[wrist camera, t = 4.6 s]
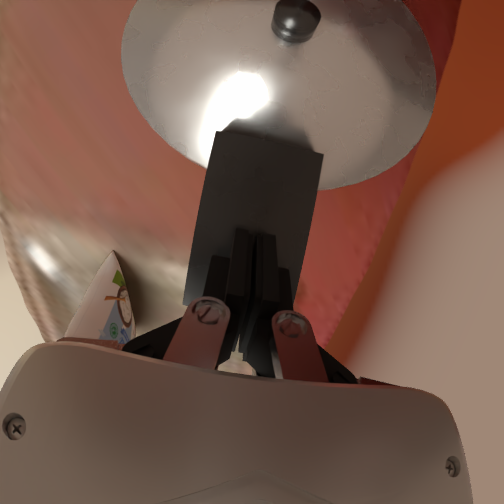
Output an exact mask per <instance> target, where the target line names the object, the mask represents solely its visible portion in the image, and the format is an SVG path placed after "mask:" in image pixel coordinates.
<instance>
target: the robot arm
mask: <svg viewBox="0 0 504 504" xmlns="http://www.w3.org/2000/svg"><path fill="white" fill-rule="evenodd" d="M252 249H253V252H252ZM239 334H240V336H239ZM238 338H239V349H238V352H240V353H243V361H246V362H248V363H249V364H250V365H251V366H252V367H253V369H252V375H244V374H237V373H231V372H224V371H218V366H219V365H220V364H221V363H223V362H225V361H226V360H228V359H230V355H231V351H233V352H234V351H235V348H236V345H237V341H238ZM0 504H473V498H472V490H471V484H470V478H469V473H468V468H467V463H466V458H465V453H464V449H463V446H462V442H461V439H460V435H459V432H458V429H457V426H456V423H455V421H454V418H453V416H452V413H451V411H450V409H449V408H448V406H447V405H446V403H445V402H444V401H443V400H442V399H440V398H439V397H437V396H435V395H434V394H431V393H429V392H426V391H423V390H420V389H415V388H411V387H402V386H397V385H393V384H389V383H384V382H380V381H376V380H372V379H368V378H364V377H360V378H359V379H357V378H355V376H354V375H353V374H352V373H351V372H350V371H349V370H348V369H347V368H345V367H344V366H343V365H342V364H340V363H339V362H338V361H337V360H336V359H335V358H334V357H332V356H331V355H330V354H329V353H328V352H326V351H325V350H324V349H323V348H322V347H320V346H319V345H318V344H317V342H316V339H315V336H314V333H313V330H312V327H311V324H310V322H309V321H308V320H307V318H306V317H305V316H303V315H302V314H300V313H298V312H295V311H293V300H292V291H291V281H290V272H289V269H287V268H282V267H278V261H277V245H276V235H272V234H267V233H262V235H261V236H260V235H257V236H256V240H255V244H254V248H253V234H249V230H247V229H242V228H236V229H235V234H234V238H233V243H232V248H231V253H230V258H228V257H223V256H218V255H212V257H211V261H210V265H209V269H208V274H207V278H206V282H205V287H204V291H203V296H202V297H199V298H196V299H194V300H193V301H191V303H190V304H189V305H188V307H187V309H186V312H185V314H184V316H183V317H181V318H179V319H177V320H174V321H172V322H170V323H168V324H166V325H163V326H161V327H159V328H157V329H154V330H152V331H150V332H147V333H145V334H143V335H141V336H138V337H136V338H134V339H132V340H130V341H128V342H127V343H126V344H120V343H118V340H102V339H89V338H77V337H63V338H61V339H59V340H57V341H56V342H47V343H42V344H38V345H36V346H33V347H32V348H30V349H29V350H27V351H26V352H25V353H24V355H22V356H21V358H20V359H19V360H18V362H17V363H16V364H15V366H14V367H13V369H12V371H11V372H10V374H9V376H8V377H7V379H6V382H5V383H4V385H3V388H2V389H1V391H0Z"/></svg>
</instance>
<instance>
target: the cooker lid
mask: <svg viewBox="0 0 504 504" xmlns="http://www.w3.org/2000/svg"><path fill="white" fill-rule="evenodd" d="M121 61H122V68H123V75H124V78H125V81H126V84H127V87H128V90H129V93H130V95H131V97H132V99H133V101H134V103H135V104H136V106H137V108H138V110H139V111H140V113H141V114H142V115H143V117H144V118H145V119H146V120H147V122H148V123H149V124H150V126H151V127H152V128H153V129H154V130H155V131H156V132H157V133H158V134H159V135H160V136H161V137H162V138H163V139H164V140H165V141H166V142H167V143H168V144H169V145H170V146H171V147H172V148H174V149H175V150H176V151H178V152H179V153H181V154H182V155H183V156H185V157H186V158H187V159H189V160H190V161H192V162H194V163H196V164H197V165H199V166H201V167H203V168H205V169H206V170H207V171H206V176H205V181H204V186H203V190H202V195H201V200H200V205H199V211H198V216H197V221H196V226H195V232H194V237H193V243H192V249H191V254H190V260H189V266H188V272H187V278H186V285H185V291H184V298H183V305H186V306H188V305H189V304H190V303H191V301H193V300H194V299H196V298H199V297H202V296H203V291H204V287H205V282H206V278H207V274H208V269H209V265H210V261H211V257H212V255H218V256H223V257H228V258H230V253H231V248H232V243H233V238H234V234H235V229H236V228H242V229H247V230H249V234H253V248H254V244H255V240H256V236H257V235H260V236H261V235H262V233H267V234H272V235H276V245H277V261H278V267H282V268H287V269H289V272H290V281H291V291H292V300H293V303H294V299H295V295H296V291H297V286H298V282H299V278H300V273H301V269H302V264H303V260H304V255H305V250H306V246H307V241H308V236H309V231H310V226H311V221H312V216H313V211H314V206H315V201H316V196H317V191H321V190H330V189H334V188H338V187H343V186H347V185H351V184H356V183H359V182H361V181H364V180H367V179H369V178H372V177H374V176H377V175H378V174H380V173H382V172H384V171H385V170H387V169H389V168H391V167H392V166H394V165H395V164H396V163H397V162H399V161H400V160H401V159H402V158H404V157H405V156H406V155H407V154H408V153H409V152H410V151H411V150H412V148H413V147H414V146H415V145H416V144H417V143H418V141H419V140H420V138H421V136H422V135H423V133H424V131H425V130H426V128H427V126H428V123H429V120H430V118H431V115H432V112H433V108H434V103H435V97H436V75H435V66H434V62H433V58H432V54H431V50H430V48H429V45H428V42H427V40H426V37H425V35H424V33H423V31H422V29H421V28H420V26H419V24H418V22H417V21H416V19H415V18H414V16H413V15H412V13H411V12H410V10H409V9H408V8H407V7H406V5H405V4H404V3H403V2H402V1H401V0H138V1H137V2H136V4H135V6H134V7H133V9H132V11H131V13H130V15H129V18H128V20H127V23H126V25H125V29H124V34H123V39H122V49H121ZM252 252H253V249H252Z"/></svg>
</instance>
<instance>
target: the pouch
mask: <svg viewBox="0 0 504 504" xmlns="http://www.w3.org/2000/svg"><path fill="white" fill-rule="evenodd" d="M64 337H77V338H89V339H102V340H118V343H120V344H126V343H127V342H128V341H130V340H132V339H134V338H135V337H136V327H135V321H134V316H133V312H132V308H131V303H130V299H129V295H128V291H127V288H126V284H125V281H124V277H123V274H122V271H121V268H120V265H119V263H118V260H117V258H116V256H115V254H114V251H112V252H111V254H110V255H109V256H108V257H107V258H106V260H105V261H104V262H103V264H102V265H101V267H100V268H99V270H98V272H97V273H96V275H95V277H94V278H93V280H92V282H91V284H90V285H89V287H88V289H87V291H86V293H85V295H84V297H83V299H82V301H81V303H80V305H79V307H78V309H77V311H76V313H75V314H74V316H73V318H72V320H71V322H70V324H69V326H68V328H67V331H66V333H65V335H64Z"/></svg>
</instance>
